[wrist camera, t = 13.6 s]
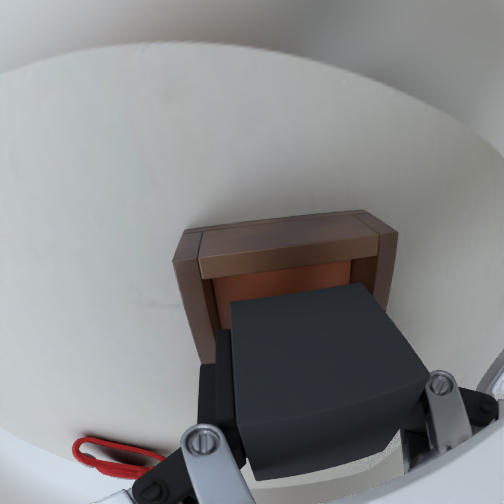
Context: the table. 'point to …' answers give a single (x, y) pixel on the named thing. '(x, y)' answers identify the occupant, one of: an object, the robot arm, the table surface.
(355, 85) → the table surface
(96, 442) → the tracker holder
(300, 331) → the dark grey block
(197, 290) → the frame
